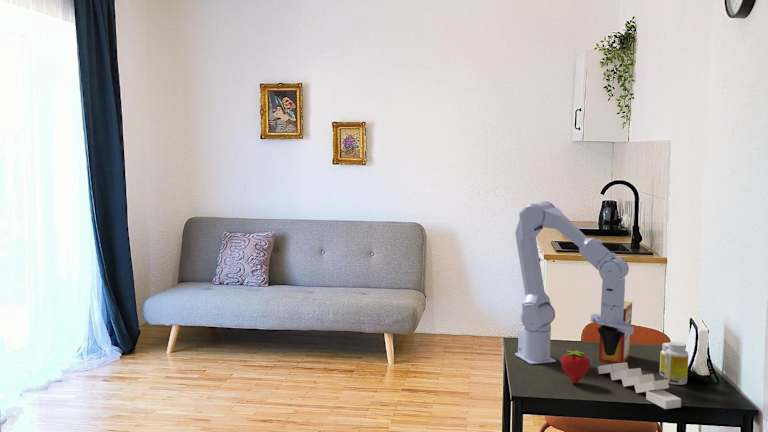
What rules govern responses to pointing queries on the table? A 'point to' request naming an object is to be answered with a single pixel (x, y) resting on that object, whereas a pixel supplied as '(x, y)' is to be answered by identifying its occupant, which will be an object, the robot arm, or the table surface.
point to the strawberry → (575, 365)
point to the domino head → (612, 368)
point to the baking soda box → (623, 344)
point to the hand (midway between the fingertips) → (610, 354)
